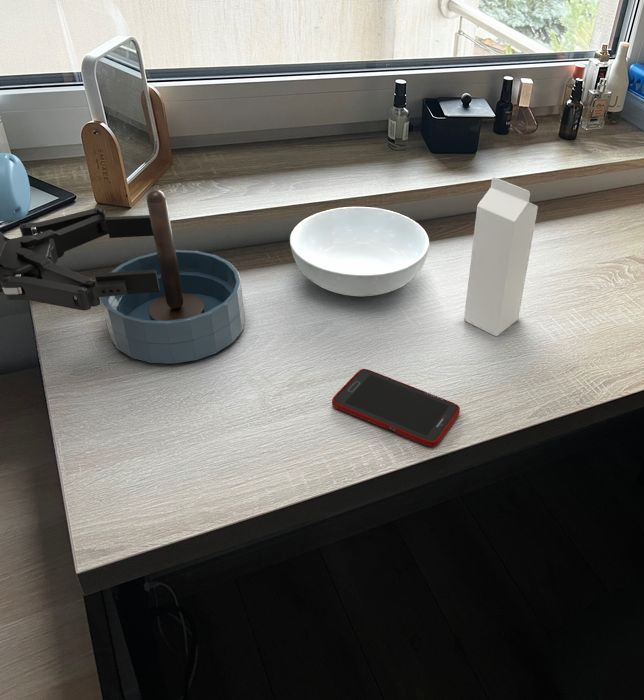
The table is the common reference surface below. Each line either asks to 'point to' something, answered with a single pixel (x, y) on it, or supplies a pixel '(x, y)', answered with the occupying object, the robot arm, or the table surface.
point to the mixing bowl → (182, 334)
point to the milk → (499, 257)
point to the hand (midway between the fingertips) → (159, 251)
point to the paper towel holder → (168, 267)
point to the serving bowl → (359, 250)
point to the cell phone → (397, 407)
